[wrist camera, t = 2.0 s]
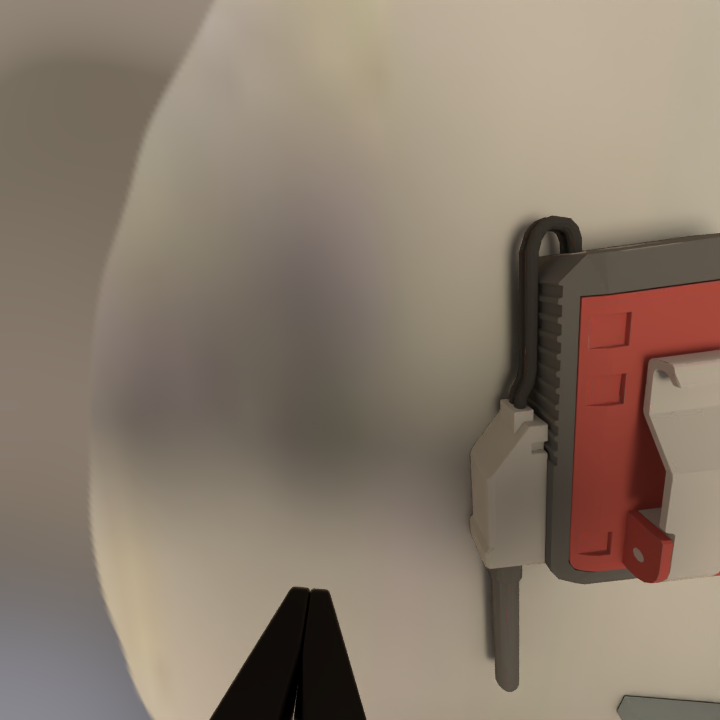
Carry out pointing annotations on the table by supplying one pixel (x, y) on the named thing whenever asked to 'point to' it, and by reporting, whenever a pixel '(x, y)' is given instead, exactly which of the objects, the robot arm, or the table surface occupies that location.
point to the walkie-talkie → (604, 423)
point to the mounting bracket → (666, 709)
